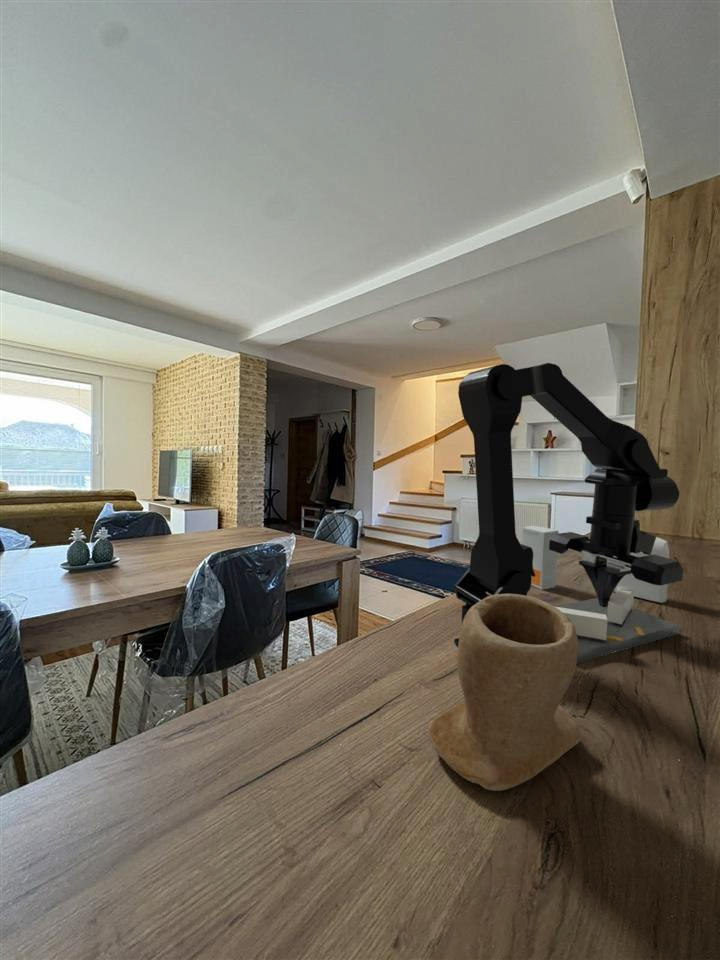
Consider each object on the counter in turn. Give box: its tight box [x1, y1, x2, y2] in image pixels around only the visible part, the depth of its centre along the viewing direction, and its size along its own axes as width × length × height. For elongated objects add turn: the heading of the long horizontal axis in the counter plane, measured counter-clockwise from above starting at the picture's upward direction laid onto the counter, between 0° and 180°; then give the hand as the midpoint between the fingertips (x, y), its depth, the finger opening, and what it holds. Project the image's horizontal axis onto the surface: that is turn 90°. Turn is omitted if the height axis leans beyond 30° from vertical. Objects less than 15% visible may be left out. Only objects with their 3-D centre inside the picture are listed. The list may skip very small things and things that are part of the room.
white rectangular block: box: [556, 607, 607, 640], centre depth 62 cm, size 10×2×3 cm, turn 65°
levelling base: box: [554, 597, 680, 665], centre depth 66 cm, size 23×13×3 cm, turn 113°
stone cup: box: [427, 594, 584, 792], centre depth 39 cm, size 15×12×15 cm
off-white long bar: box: [607, 586, 634, 624], centre depth 69 cm, size 10×2×3 cm, turn 139°
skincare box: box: [521, 525, 560, 591], centre depth 87 cm, size 6×4×12 cm
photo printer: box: [613, 536, 670, 604], centre depth 82 cm, size 10×4×12 cm, turn 39°
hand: (603, 606), depth 68 cm, fingers closed
